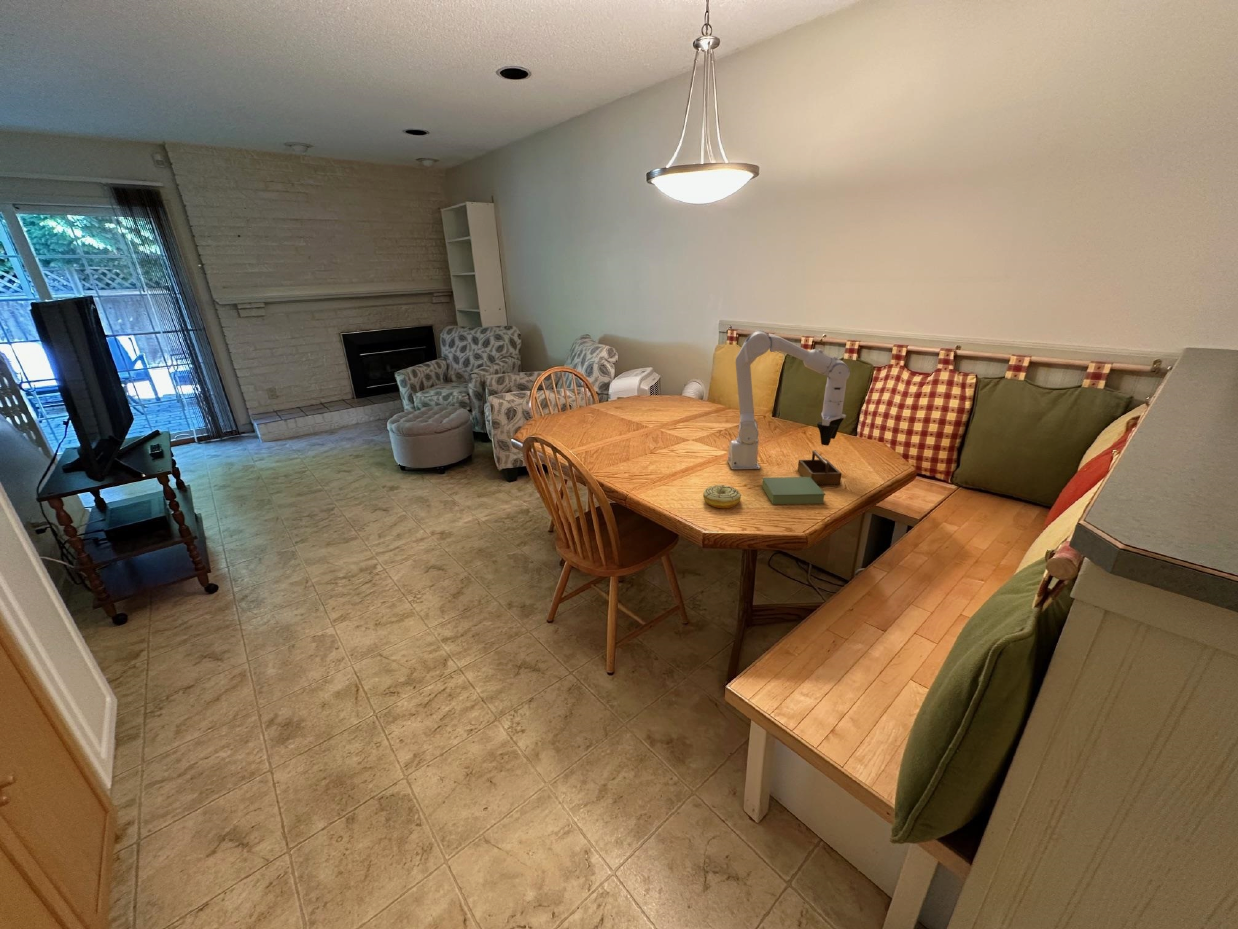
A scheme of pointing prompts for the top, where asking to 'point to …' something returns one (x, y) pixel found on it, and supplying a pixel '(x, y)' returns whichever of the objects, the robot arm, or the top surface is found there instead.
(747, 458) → the robot arm
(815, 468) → the basket
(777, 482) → the green flat block
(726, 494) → the decorated donut
